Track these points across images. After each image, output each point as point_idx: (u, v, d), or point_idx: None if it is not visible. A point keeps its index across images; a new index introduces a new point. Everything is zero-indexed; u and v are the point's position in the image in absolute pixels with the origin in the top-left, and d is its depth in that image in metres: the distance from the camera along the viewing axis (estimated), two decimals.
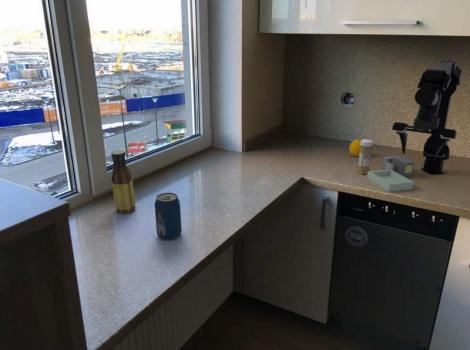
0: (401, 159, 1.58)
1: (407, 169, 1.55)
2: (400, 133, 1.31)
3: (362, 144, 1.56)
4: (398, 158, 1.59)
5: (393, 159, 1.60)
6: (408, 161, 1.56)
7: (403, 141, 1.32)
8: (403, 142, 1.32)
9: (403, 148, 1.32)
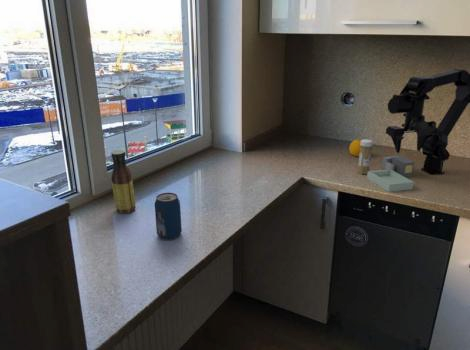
0: (401, 159, 1.58)
1: (407, 169, 1.55)
2: (400, 138, 1.48)
3: (362, 144, 1.56)
4: (398, 158, 1.59)
5: (393, 159, 1.60)
6: (408, 161, 1.56)
7: (400, 143, 1.51)
8: (399, 143, 1.51)
9: (399, 148, 1.52)
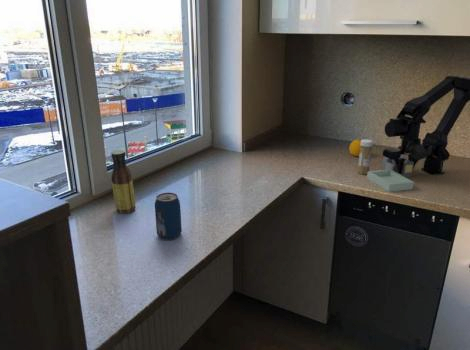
0: None
1: (407, 169, 1.55)
2: (402, 160, 1.52)
3: (362, 144, 1.56)
4: None
5: None
6: (408, 161, 1.56)
7: (402, 164, 1.54)
8: (401, 165, 1.54)
9: (401, 169, 1.55)
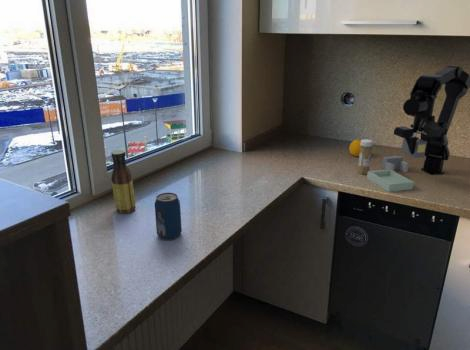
0: None
1: (420, 148, 1.45)
2: (415, 138, 1.42)
3: (362, 144, 1.56)
4: None
5: (404, 139, 1.51)
6: (421, 140, 1.46)
7: (414, 144, 1.45)
8: (414, 144, 1.45)
9: (413, 149, 1.46)
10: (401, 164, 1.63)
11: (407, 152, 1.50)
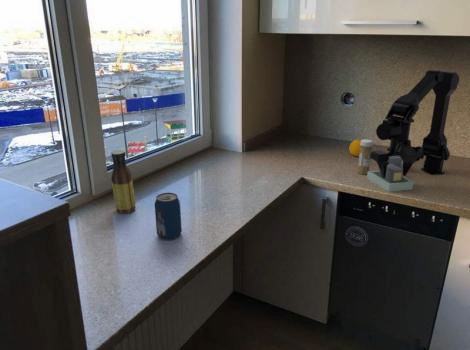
0: (390, 166, 1.48)
1: (396, 177, 1.44)
2: (386, 163, 1.40)
3: (362, 144, 1.56)
4: (387, 165, 1.49)
5: None
6: (397, 168, 1.45)
7: (385, 168, 1.43)
8: (385, 168, 1.43)
9: (385, 174, 1.44)
10: (401, 164, 1.63)
11: (384, 179, 1.49)
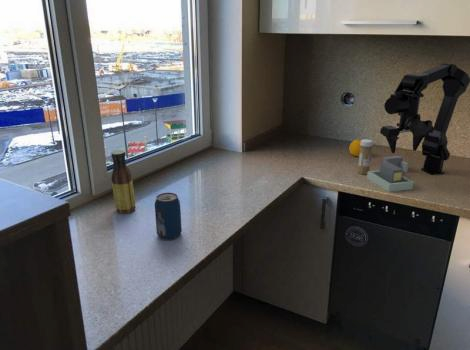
0: (390, 166, 1.48)
1: (396, 177, 1.44)
2: (395, 138, 1.42)
3: (362, 144, 1.56)
4: (387, 165, 1.49)
5: (382, 166, 1.50)
6: (397, 168, 1.45)
7: (395, 143, 1.45)
8: (395, 143, 1.45)
9: (394, 149, 1.46)
10: (401, 164, 1.63)
11: (384, 179, 1.49)
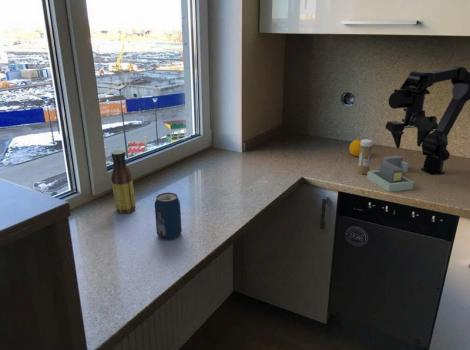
0: (390, 166, 1.48)
1: (396, 177, 1.44)
2: (400, 133, 1.46)
3: (362, 144, 1.56)
4: (387, 165, 1.49)
5: (382, 166, 1.50)
6: (397, 168, 1.45)
7: (400, 138, 1.49)
8: (399, 138, 1.49)
9: (399, 144, 1.50)
10: (401, 164, 1.63)
11: (384, 179, 1.49)
